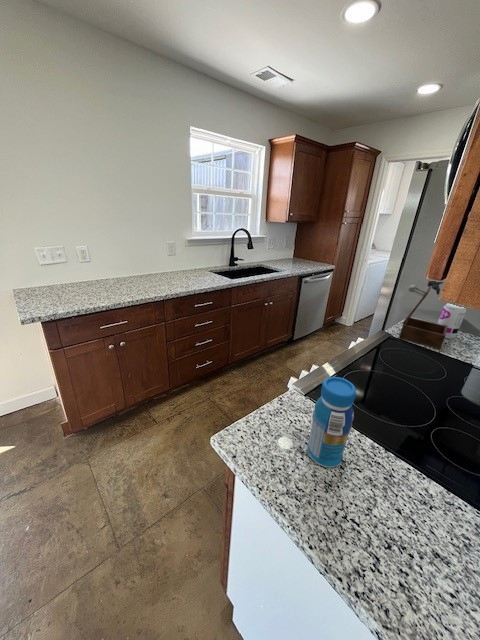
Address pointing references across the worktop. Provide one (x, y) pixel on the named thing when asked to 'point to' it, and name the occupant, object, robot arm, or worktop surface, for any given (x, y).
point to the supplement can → (452, 319)
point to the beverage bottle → (331, 422)
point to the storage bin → (423, 333)
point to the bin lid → (412, 289)
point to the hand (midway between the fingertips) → (456, 292)
